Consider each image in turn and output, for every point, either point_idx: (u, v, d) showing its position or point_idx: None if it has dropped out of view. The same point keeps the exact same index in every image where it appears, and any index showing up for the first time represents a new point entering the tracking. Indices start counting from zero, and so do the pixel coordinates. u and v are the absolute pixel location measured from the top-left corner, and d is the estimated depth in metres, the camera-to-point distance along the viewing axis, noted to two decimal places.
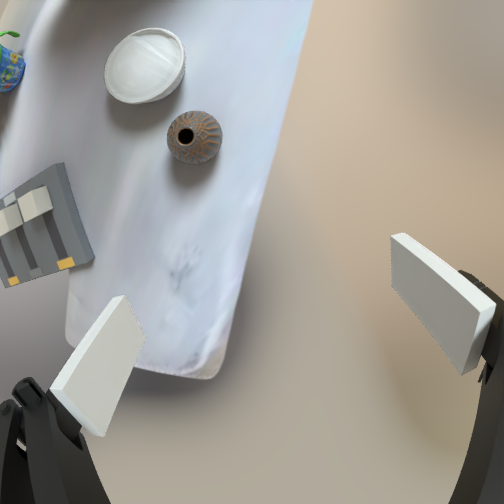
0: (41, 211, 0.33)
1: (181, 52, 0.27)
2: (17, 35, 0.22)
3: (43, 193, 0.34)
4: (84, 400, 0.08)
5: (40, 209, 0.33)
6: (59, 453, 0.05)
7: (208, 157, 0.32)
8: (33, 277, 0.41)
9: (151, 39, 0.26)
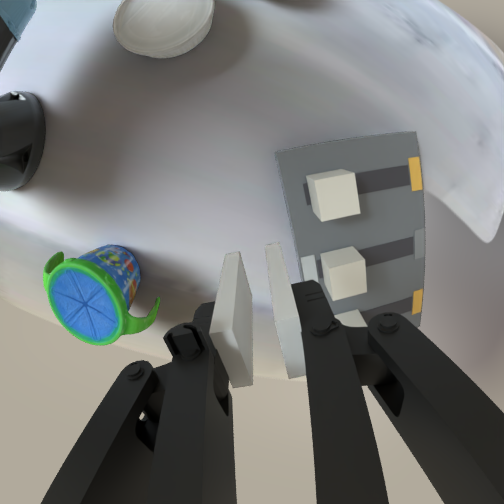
0: (348, 172, 0.25)
1: None
2: (60, 255, 0.30)
3: (318, 175, 0.27)
4: (241, 344, 0.09)
5: (345, 172, 0.25)
6: (207, 425, 0.06)
7: None
8: (423, 253, 0.32)
9: (131, 12, 0.19)
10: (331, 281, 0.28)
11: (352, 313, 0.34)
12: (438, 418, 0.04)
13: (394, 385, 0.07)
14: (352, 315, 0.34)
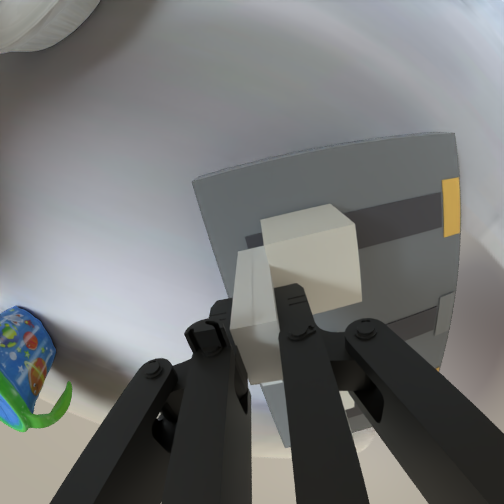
0: (341, 220, 0.12)
1: None
2: None
3: (282, 221, 0.14)
4: None
5: (335, 221, 0.12)
6: (227, 424, 0.06)
7: None
8: (447, 325, 0.19)
9: None
10: None
11: None
12: (418, 426, 0.04)
13: (375, 391, 0.07)
14: None
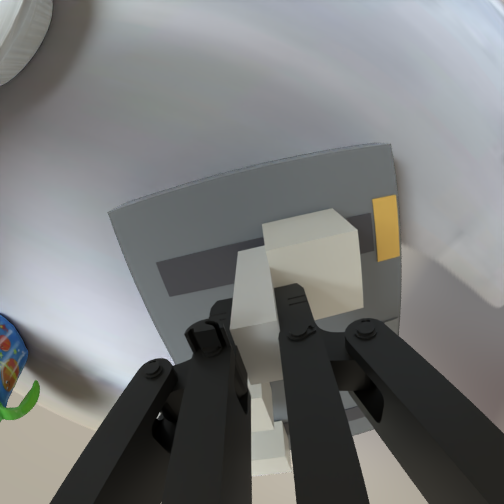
0: (344, 225, 0.12)
1: None
2: None
3: (284, 226, 0.14)
4: None
5: (337, 227, 0.12)
6: (227, 424, 0.06)
7: None
8: None
9: None
10: None
11: None
12: (418, 426, 0.04)
13: (375, 391, 0.07)
14: (271, 430, 0.21)
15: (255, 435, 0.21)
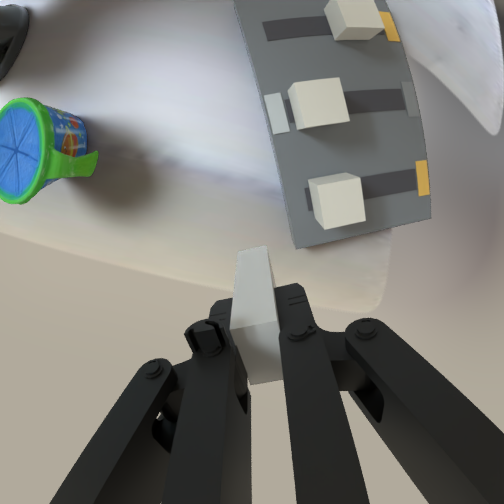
0: None
1: None
2: None
3: None
4: None
5: None
6: (227, 424, 0.06)
7: None
8: (417, 111, 0.24)
9: None
10: (299, 99, 0.20)
11: (339, 174, 0.26)
12: (419, 426, 0.04)
13: (375, 391, 0.07)
14: (339, 175, 0.25)
15: (325, 178, 0.25)
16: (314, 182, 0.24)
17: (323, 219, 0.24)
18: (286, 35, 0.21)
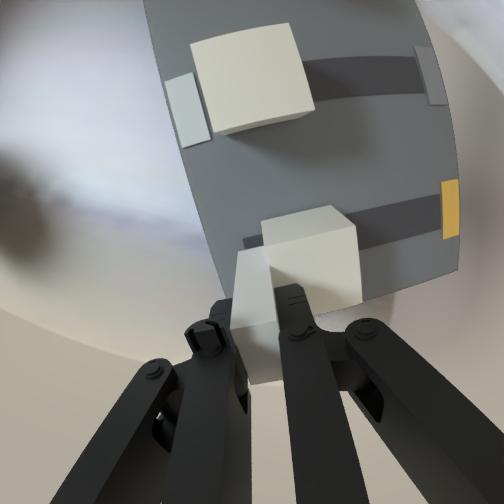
0: None
1: None
2: None
3: None
4: None
5: None
6: (227, 424, 0.06)
7: None
8: (444, 96, 0.12)
9: None
10: (201, 75, 0.09)
11: (317, 210, 0.15)
12: (418, 426, 0.04)
13: (375, 391, 0.07)
14: (317, 212, 0.14)
15: (291, 220, 0.14)
16: (265, 233, 0.13)
17: None
18: None
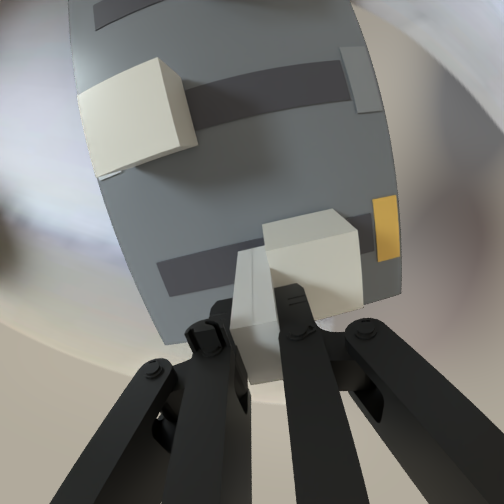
0: None
1: None
2: None
3: None
4: None
5: None
6: (227, 424, 0.06)
7: None
8: (377, 101, 0.13)
9: None
10: (84, 125, 0.09)
11: (319, 214, 0.15)
12: (418, 426, 0.04)
13: (375, 391, 0.07)
14: (319, 216, 0.14)
15: (292, 224, 0.14)
16: (267, 237, 0.13)
17: None
18: (122, 12, 0.10)
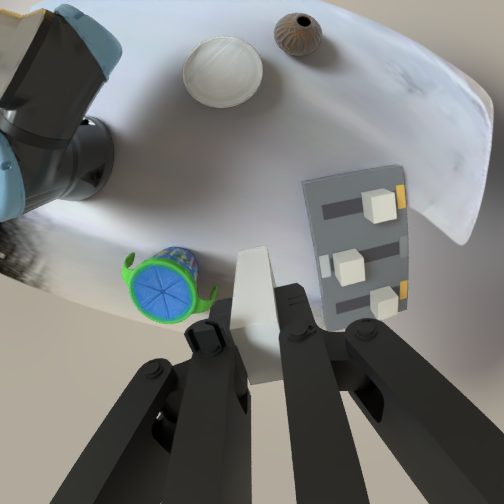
0: (390, 192, 0.38)
1: (217, 38, 0.30)
2: (132, 255, 0.43)
3: (370, 192, 0.40)
4: None
5: (388, 192, 0.38)
6: (227, 424, 0.06)
7: None
8: (407, 253, 0.45)
9: (196, 66, 0.32)
10: (340, 272, 0.41)
11: (386, 288, 0.46)
12: (419, 426, 0.04)
13: (375, 391, 0.07)
14: (386, 289, 0.46)
15: (380, 292, 0.46)
16: (375, 297, 0.45)
17: (378, 316, 0.45)
18: (335, 215, 0.42)
